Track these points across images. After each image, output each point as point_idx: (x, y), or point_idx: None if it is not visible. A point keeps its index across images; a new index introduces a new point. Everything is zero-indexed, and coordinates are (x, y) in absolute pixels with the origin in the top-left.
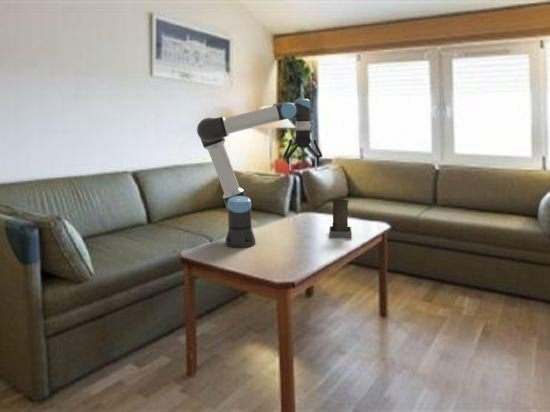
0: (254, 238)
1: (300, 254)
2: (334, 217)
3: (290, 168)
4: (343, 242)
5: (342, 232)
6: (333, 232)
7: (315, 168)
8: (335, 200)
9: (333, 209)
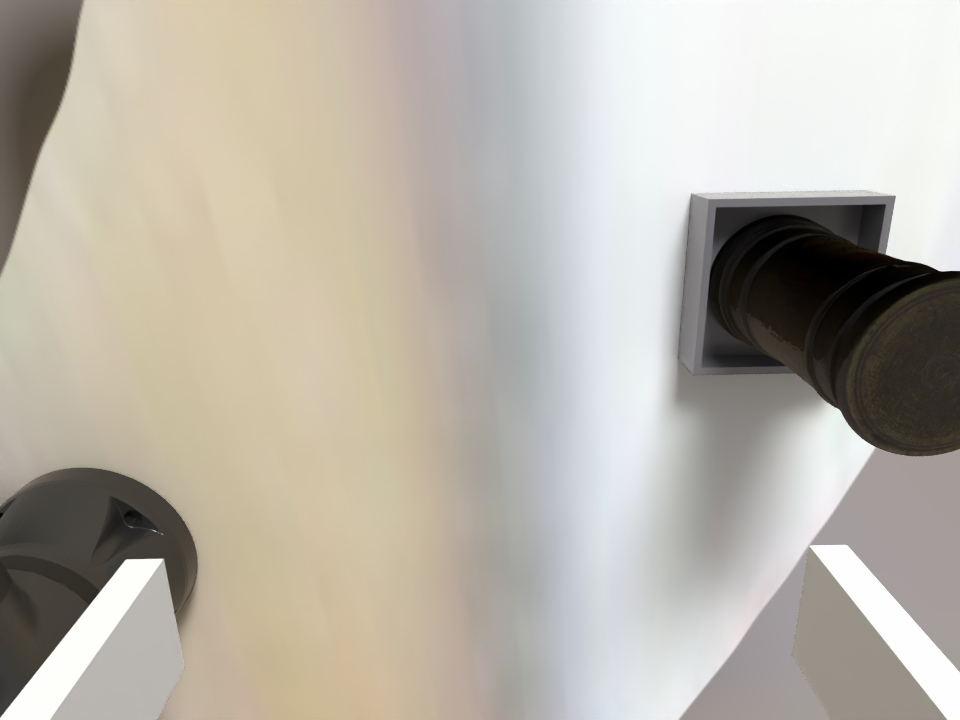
0: (178, 577)
1: (503, 694)
2: (780, 357)
3: (159, 710)
4: (766, 456)
5: (792, 371)
6: (722, 371)
7: (827, 699)
8: (882, 372)
9: (806, 366)
